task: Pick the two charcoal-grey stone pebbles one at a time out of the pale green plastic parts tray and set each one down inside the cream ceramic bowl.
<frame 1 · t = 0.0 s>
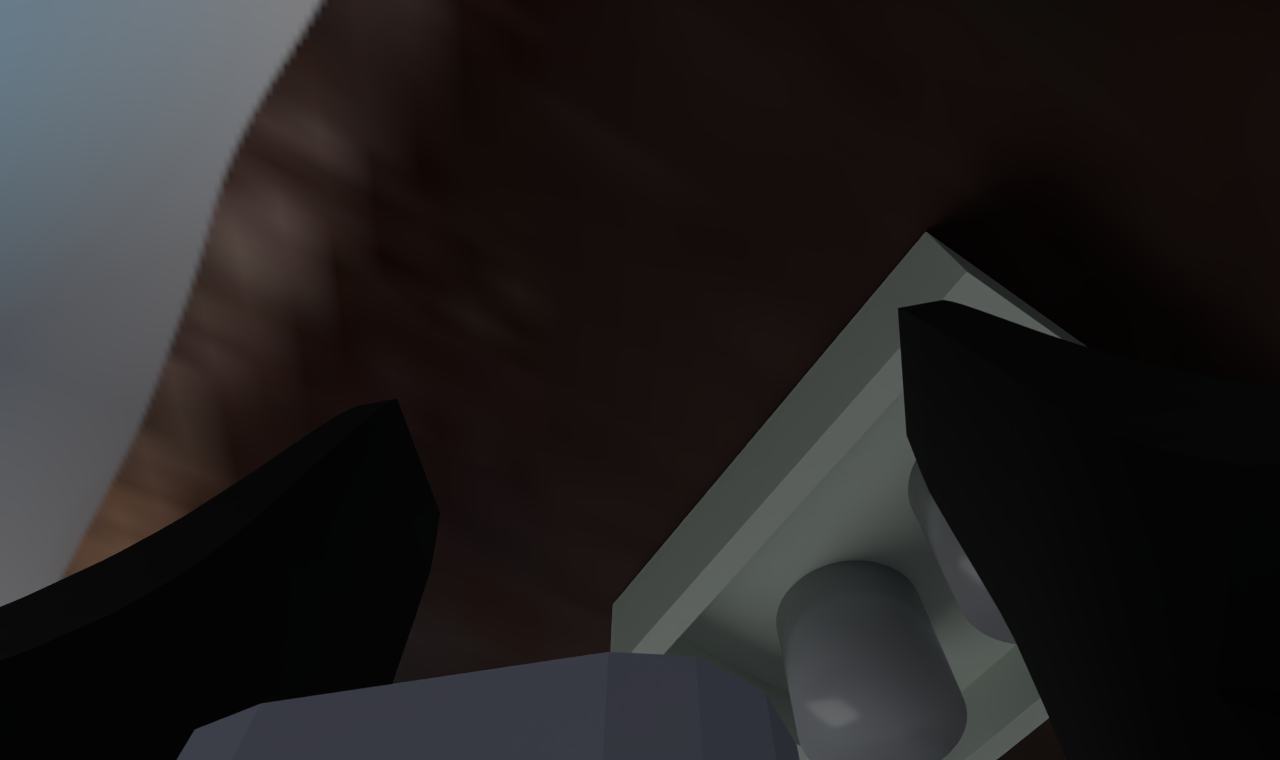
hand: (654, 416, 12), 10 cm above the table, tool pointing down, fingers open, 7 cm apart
parts tray: (905, 531, 25), on the table
pebble b: (848, 617, 26), point 1 cm above the table, touching parts tray
pebble a: (988, 480, 23), point 1 cm above the table, touching parts tray
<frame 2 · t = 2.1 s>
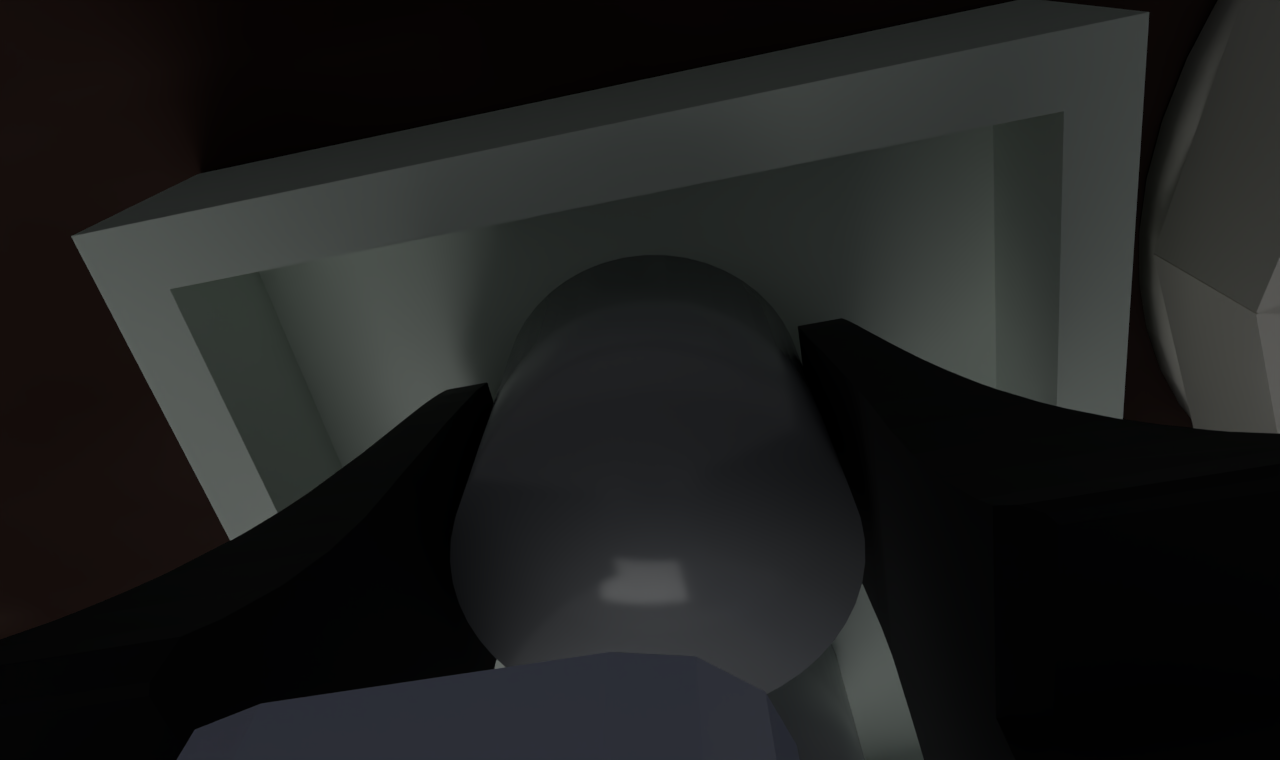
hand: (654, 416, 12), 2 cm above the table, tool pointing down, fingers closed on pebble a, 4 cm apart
parts tray: (685, 517, 15), on the table
pebble b: (716, 684, 15), point 1 cm above the table, touching parts tray
pebble a: (653, 396, 13), point 1 cm above the table, touching gripper, parts tray
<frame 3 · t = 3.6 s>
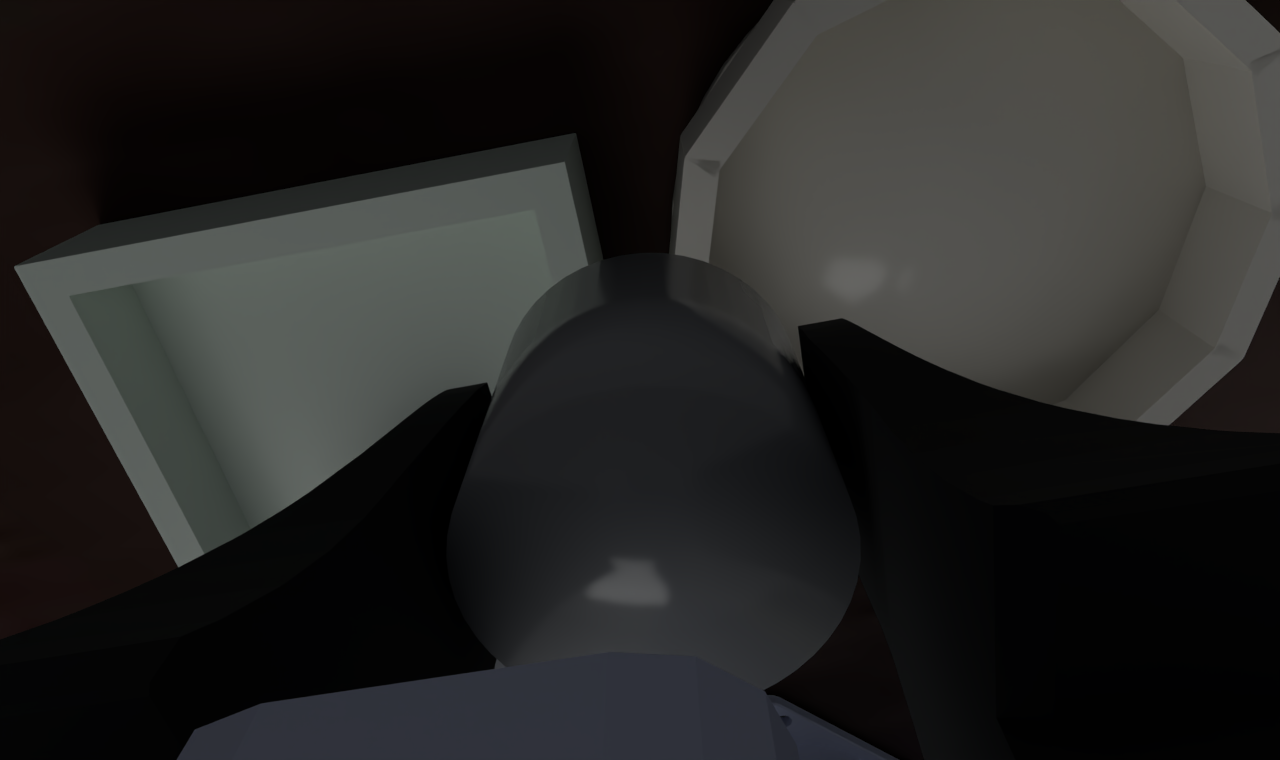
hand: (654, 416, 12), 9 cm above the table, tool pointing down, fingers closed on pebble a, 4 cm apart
parts tray: (425, 446, 23), on the table
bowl: (933, 221, 20), on the table
pebble a: (650, 394, 13), point 8 cm above the table, touching gripper
when the fingers open (3 cm above the table, at t = 5.5 s): pebble a drops 2 cm, resting on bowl.
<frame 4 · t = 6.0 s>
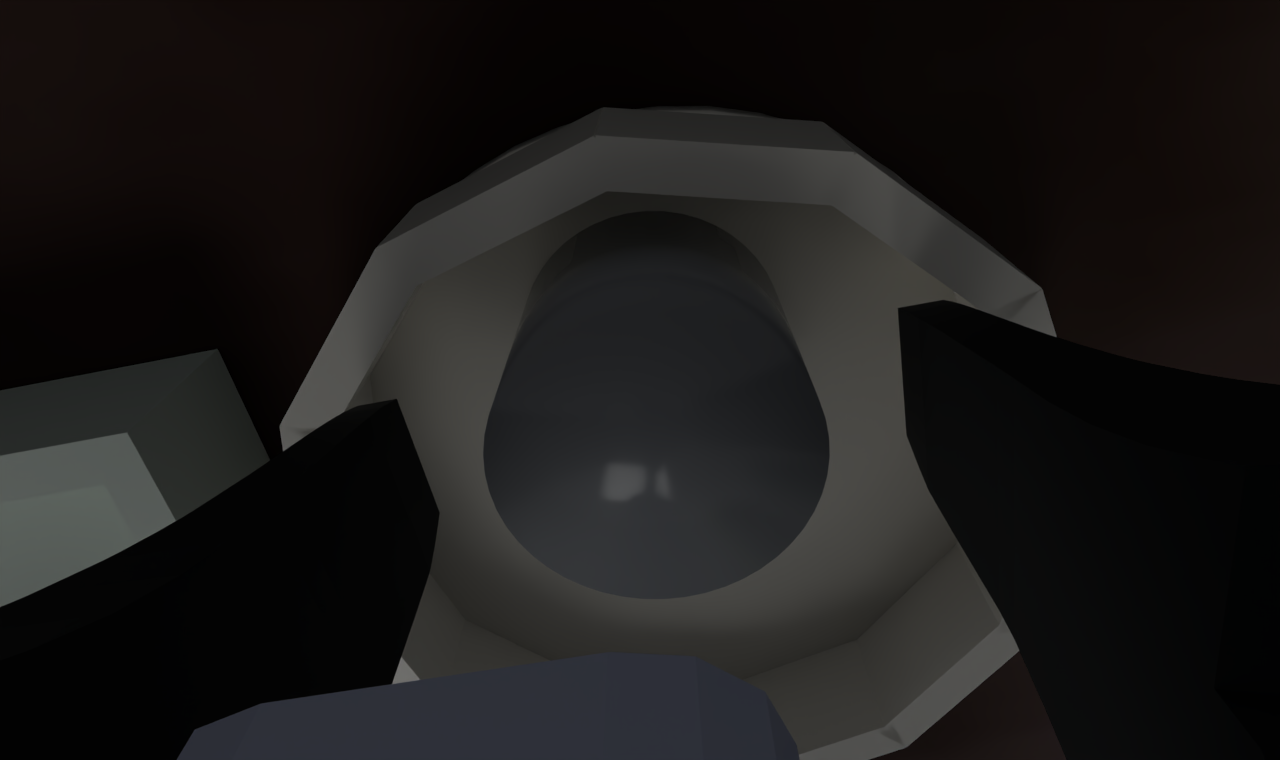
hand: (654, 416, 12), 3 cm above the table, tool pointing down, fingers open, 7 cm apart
parts tray: (114, 681, 19), on the table
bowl: (677, 441, 16), on the table
pebble a: (652, 338, 14), point 1 cm above the table, touching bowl
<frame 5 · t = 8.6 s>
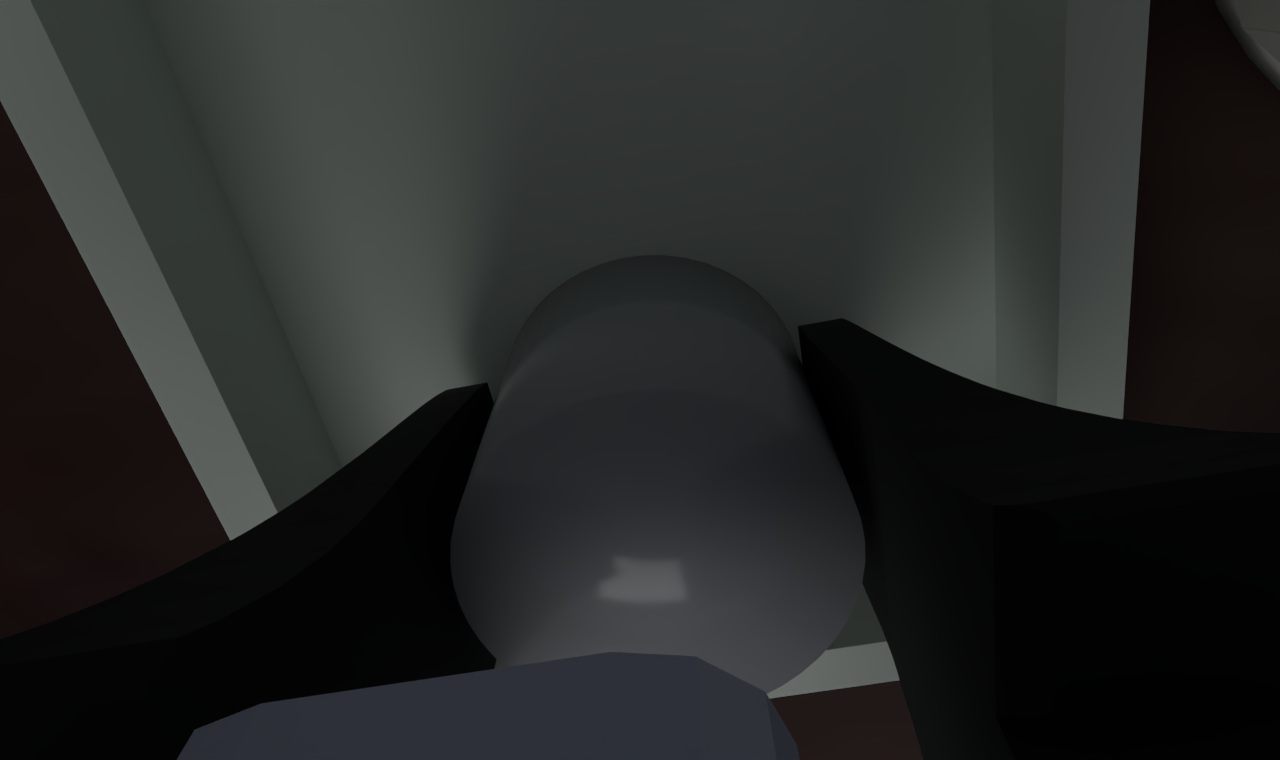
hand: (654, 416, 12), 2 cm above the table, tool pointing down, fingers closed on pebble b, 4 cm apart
parts tray: (613, 183, 12), on the table
pebble b: (653, 396, 13), point 1 cm above the table, touching gripper, parts tray
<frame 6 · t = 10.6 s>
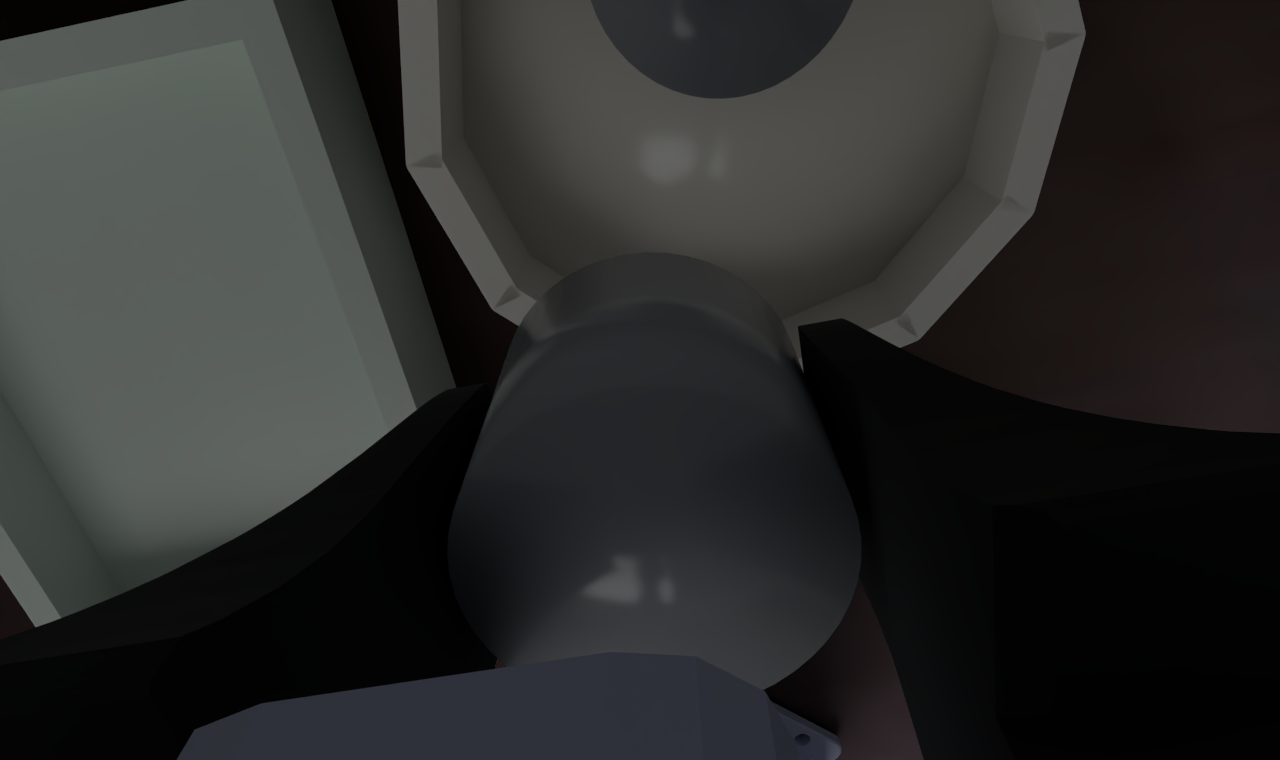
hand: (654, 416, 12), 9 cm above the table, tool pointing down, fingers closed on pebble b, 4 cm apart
parts tray: (208, 340, 21), on the table
pebble b: (651, 393, 13), point 8 cm above the table, touching gripper
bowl: (720, 81, 18), on the table
when the fingers open (3 cm above the table, at t = 12.3 s): pebble b drops 2 cm, resting on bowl.
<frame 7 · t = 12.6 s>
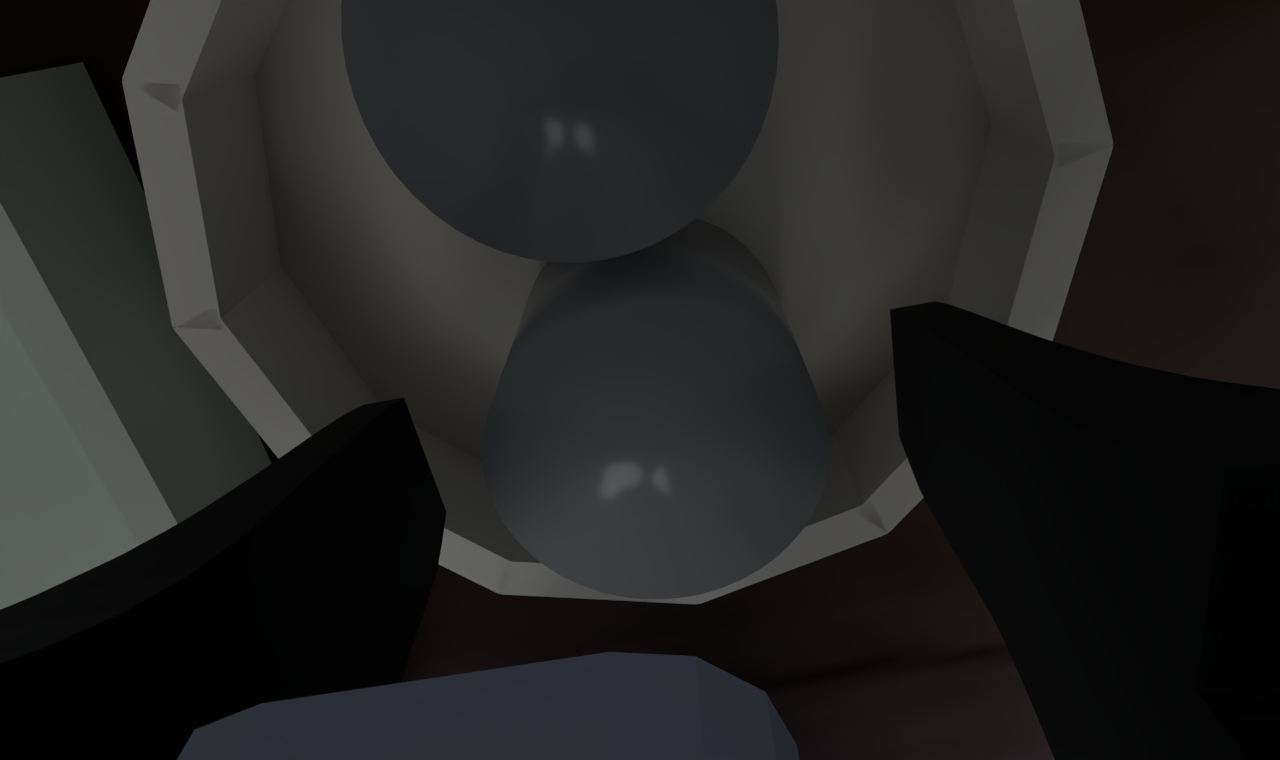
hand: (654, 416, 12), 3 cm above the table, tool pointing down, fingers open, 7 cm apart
pebble b: (652, 338, 14), point 1 cm above the table, touching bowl
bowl: (623, 186, 14), on the table
pebble a: (585, 25, 12), point 1 cm above the table, touching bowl
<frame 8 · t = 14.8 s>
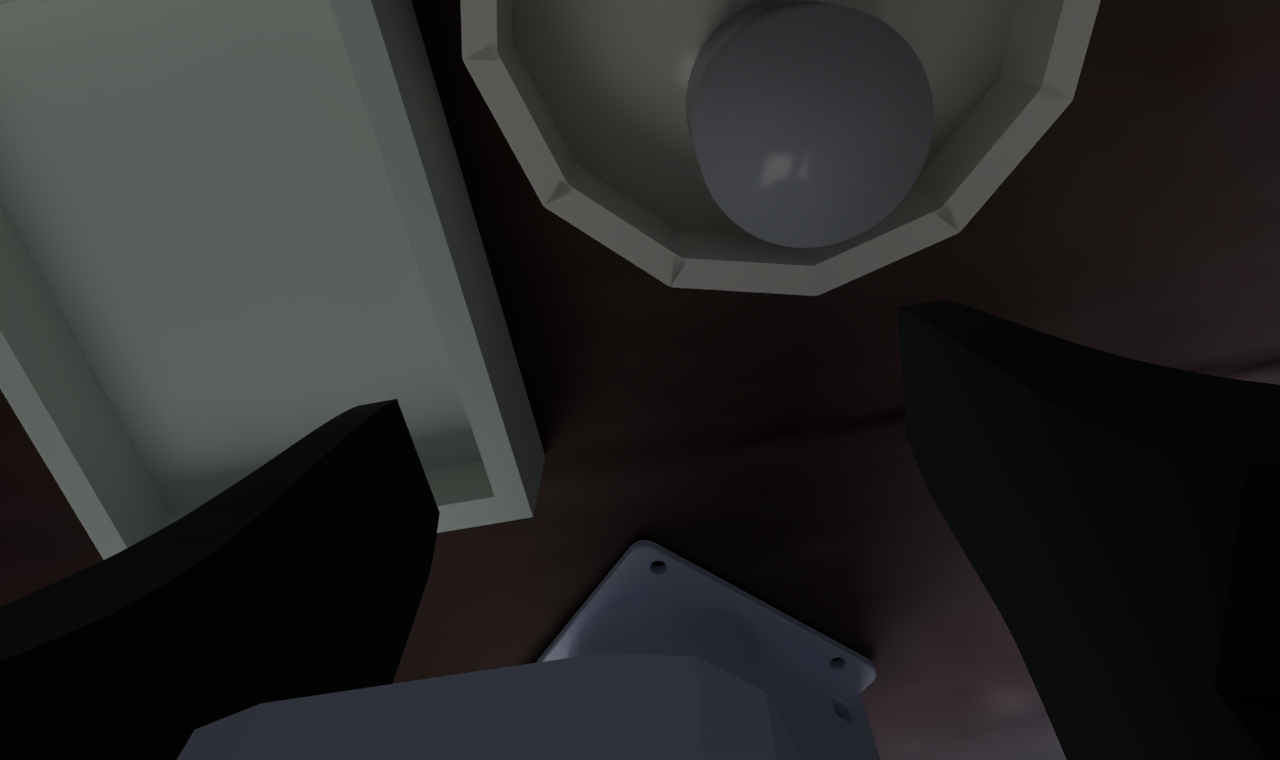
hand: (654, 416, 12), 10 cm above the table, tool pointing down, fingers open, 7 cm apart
parts tray: (259, 257, 22), on the table
pebble b: (781, 102, 19), point 1 cm above the table, touching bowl
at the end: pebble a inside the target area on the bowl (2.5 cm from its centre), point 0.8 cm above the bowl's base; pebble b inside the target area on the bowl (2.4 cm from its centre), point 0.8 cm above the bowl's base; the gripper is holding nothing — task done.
